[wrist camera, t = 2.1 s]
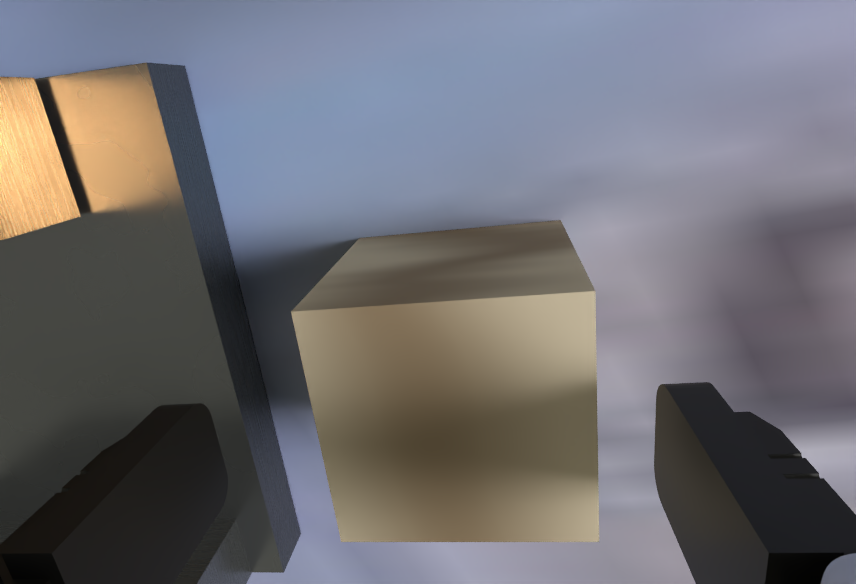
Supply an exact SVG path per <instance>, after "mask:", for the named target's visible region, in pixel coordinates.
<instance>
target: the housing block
mask: <svg viewBox="0 0 856 584" xmlns="http://www.w3.org/2000/svg"><path fill="white" fill-rule="evenodd" d="M291 314H292V319H293V324H294V328H295V333H296V337H297V342H298V346H299V351H300V355H301V360H302V365H303V369H304V374H305V378H306V383H307V387H308V392H309V397H310V401H311V406H312V410H313V415H314V419H315V424H316V428H317V433H318V438H319V442H320V447H321V451H322V456H323V460H324V465H325V469H326V474H327V479H328V483H329V488H330V492H331V497H332V501H333V506H334V510H335V515H336V520H337V524H338V529H339V533H340V538H341V542H599V499H598V435H597V372H596V308H595V290H594V287H593V285H592V283H591V281H590V279H589V277H588V275H587V273H586V271H585V269H584V267H583V265H582V263H581V261H580V259H579V257H578V255H577V253H576V251H575V249H574V247H573V245H572V243H571V241H570V239H569V236H568V234H567V232H566V230H565V228H564V226H563V224H562V222H561V220H558V221H547V222H535V223H524V224H513V225H502V226H490V227H479V228H468V229H456V230H445V231H434V232H423V233H411V234H400V235H389V236H377V237H366V238H359V239H358V240H357V241H356V242H355V243H354V244H353V246H352V247H351V248H350V249H349V250H348V251H347V252H346V253H345V254H344V255H343V256H342V257H341V258H340V260H339V261H338V262H337V263H336V264H335V265H334V266H333V267H332V268H331V269H330V270H329V271H328V272H327V273H326V275H325V276H324V277H323V278H322V279H321V280H320V281H319V282H318V283H317V284H316V285H315V286H314V287H313V289H312V290H311V291H310V292H309V293H308V294H307V295H306V296H305V297H304V298H303V299H302V300H301V301H300V303H299V304H298V305H297V306H296V307H295V308H294V309H293V310H292V311H291Z"/></svg>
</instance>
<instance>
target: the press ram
mask: <svg viewBox="0 0 856 584" xmlns="http://www.w3.org/2000/svg"><path fill="white" fill-rule="evenodd" d="M77 217H80V213H79V210H78V207H77V204H76V201H75V198H74V195H73V192H72V189H71V186H70V183H69V180H68V177H67V174H66V171H65V168H64V165H63V162H62V159H61V156H60V153H59V150H58V147H57V144H56V141H55V138H54V135H53V132H52V129H51V126H50V123H49V120H48V117H47V114H46V112H45V109H44V106H43V103H42V100H41V97H40V94H39V91H38V88H37V85H36V82H35V79H34V78H21V77H0V240H4V239H7V238H10V237H14V236H17V235H20V234H24V233H27V232H30V231H33V230H37V229H40V228H43V227H47V226H50V225H53V224H57V223H60V222H63V221H67V220H70V219H73V218H77Z"/></svg>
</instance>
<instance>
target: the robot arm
mask: <svg viewBox="0 0 856 584" xmlns="http://www.w3.org/2000/svg"><path fill="white" fill-rule="evenodd" d="M654 471H655V479H656V485H657V490H658V494H659V498H660V501H661V503H662V506H663V508H664V511H665V513H666V515H667V517H668V520H669V522H670V524H671V527H672V529H673V531H674V534H675V536H676V538H677V541H678V543H679V545H680V548H681V550H682V552H683V555H684V557H685V559H686V562H687V564H688V566H689V569H690V571H691V573H692V575H693V578H694V580H695V582H696V584H856V515H855V514H854V512H853V511H852V510H851V509H850V508H849V507H848V506H847V504H846V503H845V502H844V501H843V500H842V499H841V498H840V497H839V495H838V494H837V493H836V492H835V491H834V490H833V489H832V488H831V486H830V485H829V484H828V483H827V482H826V481H825V480H824V478H822V479H820V477H819V473H818V472H817V471H816V469H815V468H814V467H813V466H812V465H811V464H810V463H809V462H808V460H807V459H806V458H802V456H801V453H800V451H799V450H798V449H797V448H796V447H795V446H794V445H793V443H792V442H791V441H790V440H789V439H788V438H787V437H786V436H785V434H784V433H783V432H782V431H781V430H780V429H778V428H776V427H775V426H773V425H771V424H769V423H768V422H766V421H764V420H763V419H761V418H759V417H758V416H756V415H754V414H753V413H751V412H733V410H732V409H731V408H730V406H729V405H728V404H727V403H726V401H725V400H724V399H723V398H722V396H721V395H720V394H719V392H718V391H717V390H716V389H715V387H714V386H713V385H712V384H711V383H708V382H703V383H680V384H661V385H660V386H659V387H658V390H657V397H656V424H655V454H654ZM80 472H81V473H80V475H75V476H74V477H73V478H72V479H71V480H70V481H69V482H68V483H67V484H66V485H64V486H63V487H62V491H61V493H56V494H55V495H54V496H52V497H51V498H50V499H49V500H48V501H47V502H46V503H45V504H44V505H43V506H42V507H40V508H39V509H38V510H37V511H36V512H35V513H34V514H33V515H32V516H31V517H30V518H28V519H27V520H26V521H25V522H24V523H23V524H22V525H21V526H20V527H19V528H18V529H16V530H15V531H14V532H13V533H12V534H11V535H10V536H9V537H8V538H7V539H6V540H5V541H3V542H2V543H1V544H0V584H173V583H174V582H175V580H176V579H177V577H178V576H179V574H180V573H181V571H182V570H183V568H184V566H185V565H186V563H187V562H188V560H189V559H190V557H191V556H192V554H193V552H194V551H195V549H196V548H197V546H198V545H199V543H200V542H201V540H202V539H203V537H204V535H205V534H206V532H207V531H208V529H209V528H210V526H211V525H212V523H213V521H214V520H215V518H216V517H217V515H218V514H219V512H220V511H221V509H222V507H223V505H224V503H225V499H226V496H227V490H228V475H227V470H226V466H225V463H224V459H223V456H222V452H221V448H220V445H219V441H218V437H217V434H216V430H215V426H214V423H213V419H212V416H211V413H210V411H209V409H208V408H207V407H206V406H205V405H204V404H201V403H194V404H172V405H161V406H159V407H157V408H156V409H154V410H153V411H152V412H151V413H150V414H149V415H148V416H147V417H146V418H145V419H144V420H143V421H142V422H141V423H140V424H138V425H137V426H136V427H135V428H134V429H133V430H132V431H131V432H130V433H129V434H128V435H127V436H126V437H124V438H122V439H121V440H119V441H118V442H116V443H114V444H113V445H111V446H109V447H108V448H106V449H104V450H103V451H102V452H100V453H99V454H98V455H97V456H96V457H95V458H94V459H93V460H92V461H91V462H90V463H88V464H87V465H86V466H85V467H84V468H83V469H82V470H81V471H80Z"/></svg>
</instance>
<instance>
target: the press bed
mask: <svg viewBox="0 0 856 584" xmlns="http://www.w3.org/2000/svg"><path fill="white" fill-rule="evenodd" d="M35 82H36V85H37V88H38V91H39V94H40V97H41V100H42V103H43V106H44V109H45V112H46V114H47V117H48V120H49V123H50V126H51V129H52V132H53V135H54V138H55V141H56V144H57V147H58V150H59V153H60V156H61V159H62V162H63V165H64V168H65V171H66V174H67V177H68V180H69V183H70V186H71V189H72V192H73V195H74V198H75V201H76V204H77V207H78V210H79V213H80V217H77V218H73V219H70V220H67V221H63V222H60V223H57V224H53V225H50V226H47V227H43V228H40V229H37V230H33V231H30V232H27V233H24V234H20V235H17V236H14V237H10V238H7V239H4V240H0V544H1V543H2V542H3V541H5V540H6V539H7V538H8V537H9V536H10V535H11V534H12V533H13V532H14V531H15V530H16V529H18V528H19V527H20V526H21V525H22V524H23V523H24V522H25V521H26V520H27V519H28V518H30V517H31V516H32V515H33V514H34V513H35V512H36V511H37V510H38V509H39V508H40V507H42V506H43V505H44V504H45V503H46V502H47V501H48V500H49V499H50V498H51V497H52V496H54V495H55V494H56V493H61V491H62V487H63V486H64V485H66V484H67V483H68V482H69V481H70V480H71V479H72V478H73V477H74V476H75V475H80V473H81V472H80V471H81V470H82V469H83V468H84V467H85V466H86V465H87V464H88V463H90V462H91V461H92V460H93V459H94V458H95V457H96V456H97V455H98V454H99V453H100V452H102V451H103V450H104V449H106V448H108V447H109V446H111V445H113V444H114V443H116V442H118V441H119V440H121V439H122V438H124V437H126V436H127V435H128V434H129V433H130V432H131V431H132V430H133V429H134V428H135V427H136V426H137V425H138V424H140V423H141V422H142V421H143V420H144V419H145V418H146V417H147V416H148V415H149V414H150V413H151V412H152V411H153V410H154V409H156V408H157V407H159V406H161V405H172V404H194V403H201V404H204V405H205V406H206V407H207V408H208V409H209V411H210V413H211V416H212V419H213V423H214V426H215V430H216V434H217V437H218V441H219V445H220V448H221V452H222V456H223V459H224V463H225V466H226V470H227V475H228V490H227V496H226V499H225V503H224V505H223V507H222V509H221V511H220V512H219V514H218V515H217V517H216V518H215V520H214V521H213V523H212V525H211V526H210V528H209V529H208V531H207V532H206V534H205V535H204V537H203V539H202V540H201V542H200V543H199V545H198V546H197V548H196V549H195V551H194V552H193V554H192V556H191V557H190V559H189V560H188V562H187V563H186V565H185V566H184V568H183V570H182V571H181V573H180V574H179V576H178V577H177V579H176V580H175V582H174V583H173V584H246V583H247V581H248V579H249V577H250V575H251V573H252V572H284V571H285V568H286V566H287V564H288V562H289V559H290V557H291V555H292V553H293V550H294V548H295V546H296V543H297V541H298V539H299V537H300V534H301V533H300V529H299V525H298V521H297V517H296V513H295V509H294V505H293V500H292V496H291V492H290V488H289V484H288V480H287V476H286V472H285V468H284V464H283V460H282V456H281V452H280V448H279V444H278V440H277V436H276V432H275V428H274V424H273V420H272V416H271V412H270V408H269V404H268V400H267V396H266V392H265V387H264V383H263V379H262V375H261V371H260V367H259V363H258V359H257V355H256V351H255V347H254V343H253V339H252V335H251V331H250V327H249V323H248V319H247V315H246V311H245V307H244V303H243V299H242V295H241V291H240V287H239V283H238V279H237V275H236V270H235V266H234V262H233V258H232V254H231V250H230V246H229V242H228V238H227V234H226V230H225V226H224V222H223V218H222V214H221V210H220V206H219V202H218V198H217V194H216V190H215V186H214V182H213V178H212V174H211V170H210V166H209V162H208V157H207V153H206V149H205V145H204V141H203V137H202V133H201V129H200V125H199V121H198V117H197V113H196V109H195V105H194V101H193V97H192V93H191V89H190V85H189V81H188V77H187V73H186V69H185V66H181V65H169V64H156V63H141V64H134V65H127V66H121V67H114V68H107V69H100V70H93V71H86V72H80V73H73V74H66V75H59V76H52V77H45V78H39V79H35Z"/></svg>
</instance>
